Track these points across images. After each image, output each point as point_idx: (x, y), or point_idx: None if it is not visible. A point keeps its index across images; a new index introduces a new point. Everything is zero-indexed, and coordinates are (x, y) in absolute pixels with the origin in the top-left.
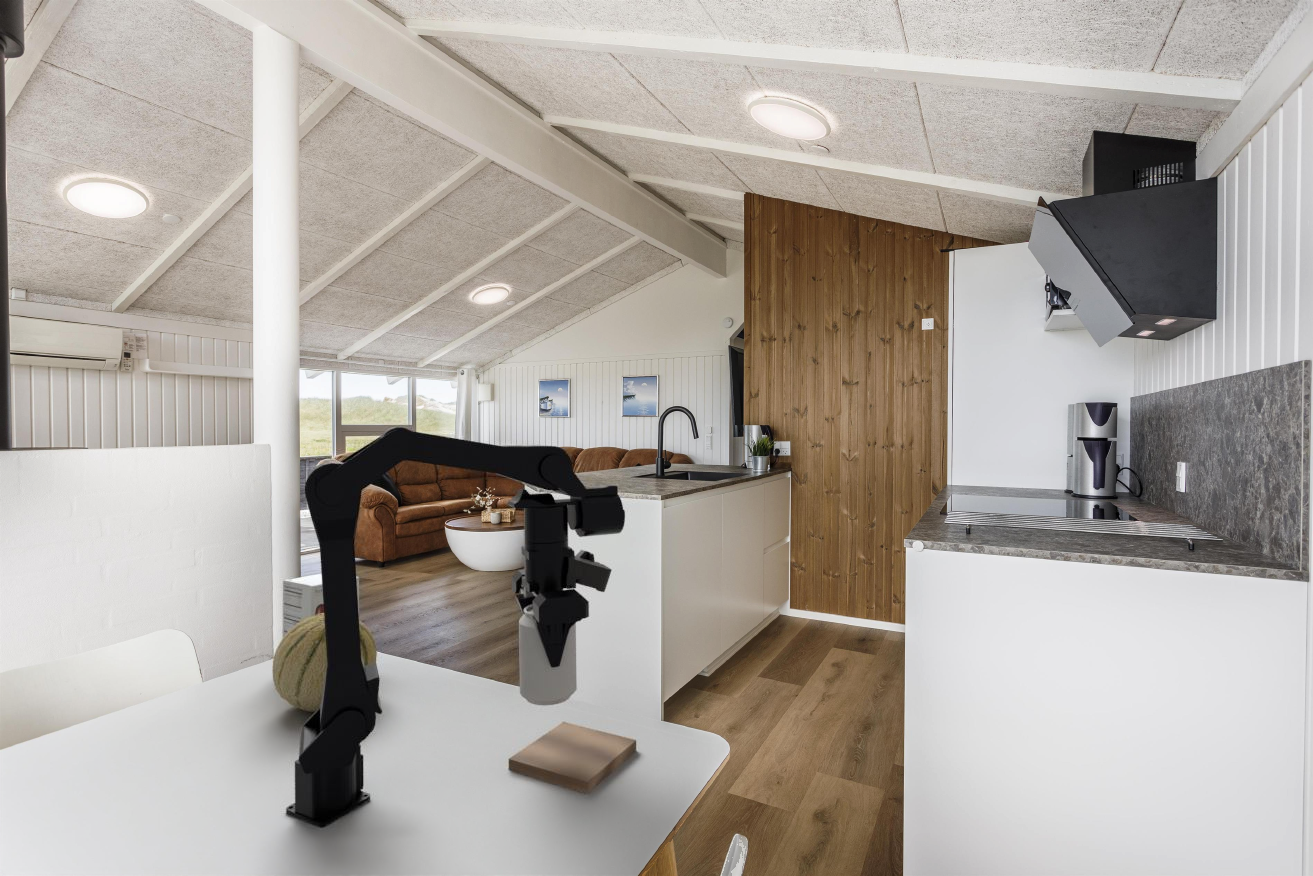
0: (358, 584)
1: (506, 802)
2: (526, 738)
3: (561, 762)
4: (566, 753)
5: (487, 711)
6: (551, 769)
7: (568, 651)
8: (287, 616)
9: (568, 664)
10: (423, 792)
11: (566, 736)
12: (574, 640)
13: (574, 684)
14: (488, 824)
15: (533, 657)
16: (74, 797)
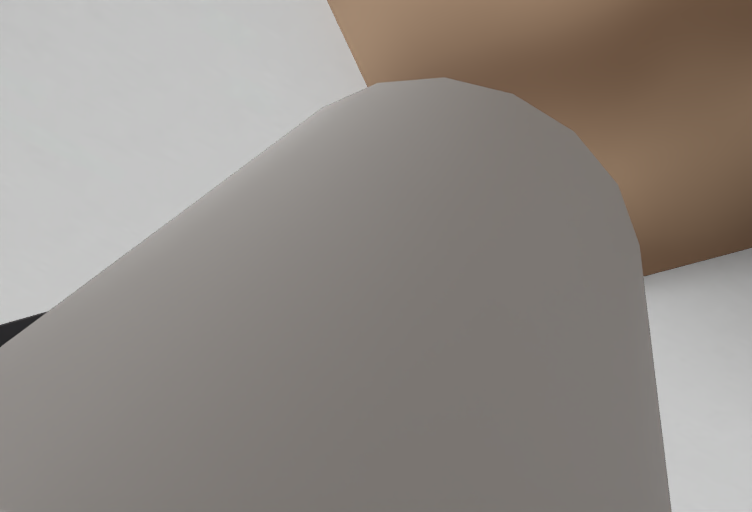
0: None
1: (672, 405)
2: (294, 126)
3: (664, 192)
4: (609, 131)
5: (12, 129)
6: (681, 254)
7: (668, 498)
8: None
9: (656, 393)
10: None
11: (458, 36)
12: (595, 439)
13: (609, 196)
14: (740, 494)
15: None
16: None
